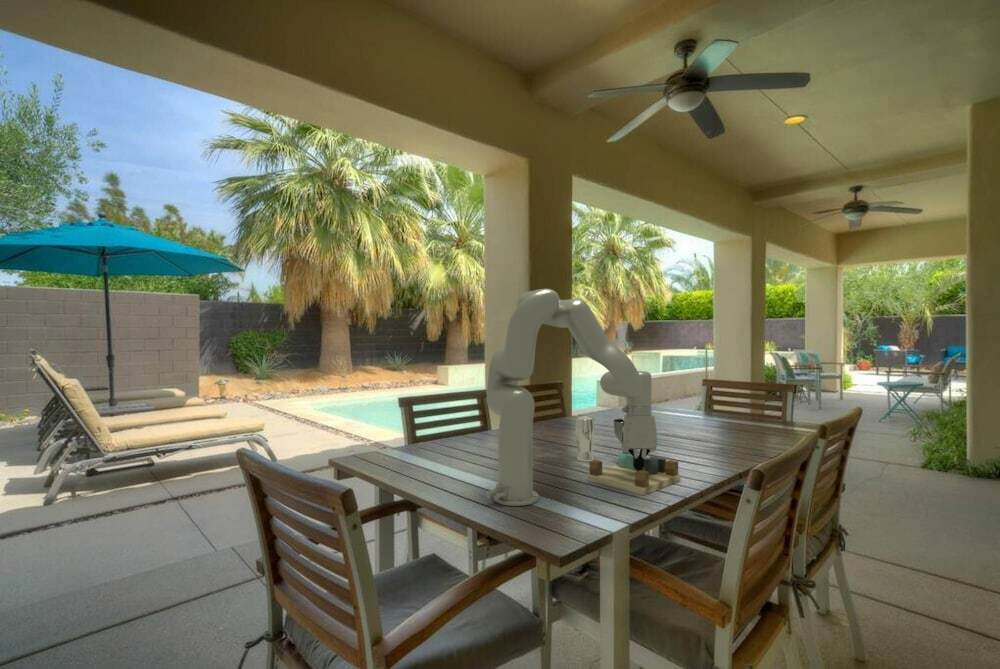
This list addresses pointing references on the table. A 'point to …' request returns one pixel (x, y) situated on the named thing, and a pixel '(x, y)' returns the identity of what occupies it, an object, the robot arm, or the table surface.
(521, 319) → the robot arm
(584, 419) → the beer glass
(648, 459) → the leg
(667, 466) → the seat
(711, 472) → the table surface
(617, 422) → the silver goblet
